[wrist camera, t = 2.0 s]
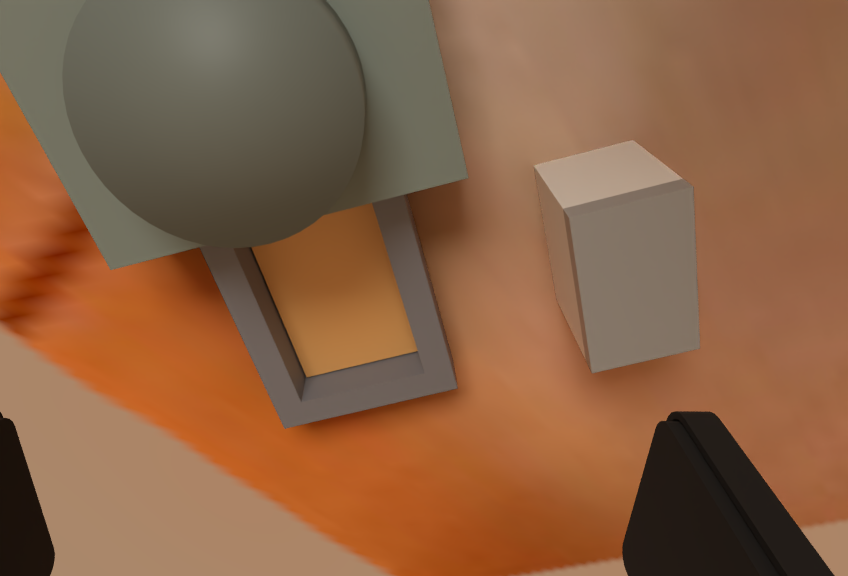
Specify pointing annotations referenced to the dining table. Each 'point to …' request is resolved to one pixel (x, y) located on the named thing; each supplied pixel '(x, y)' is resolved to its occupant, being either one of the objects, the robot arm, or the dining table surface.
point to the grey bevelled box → (622, 253)
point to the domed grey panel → (260, 169)
